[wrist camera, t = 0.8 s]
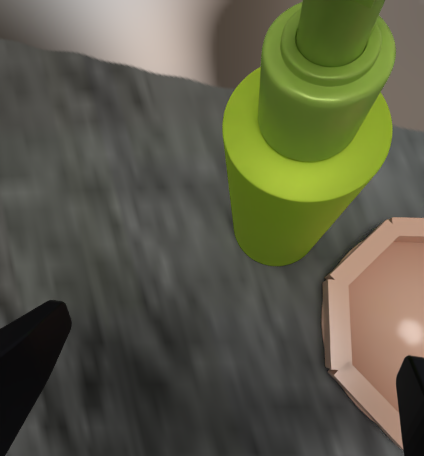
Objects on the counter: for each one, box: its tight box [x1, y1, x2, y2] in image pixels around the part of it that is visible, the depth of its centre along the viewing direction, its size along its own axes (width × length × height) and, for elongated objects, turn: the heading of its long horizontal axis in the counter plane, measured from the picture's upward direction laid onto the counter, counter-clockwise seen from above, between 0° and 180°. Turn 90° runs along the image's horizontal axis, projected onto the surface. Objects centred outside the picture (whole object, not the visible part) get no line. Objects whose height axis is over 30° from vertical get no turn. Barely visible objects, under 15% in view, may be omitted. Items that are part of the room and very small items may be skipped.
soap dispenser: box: [223, 0, 396, 266], centre depth 15 cm, size 6×7×20 cm
